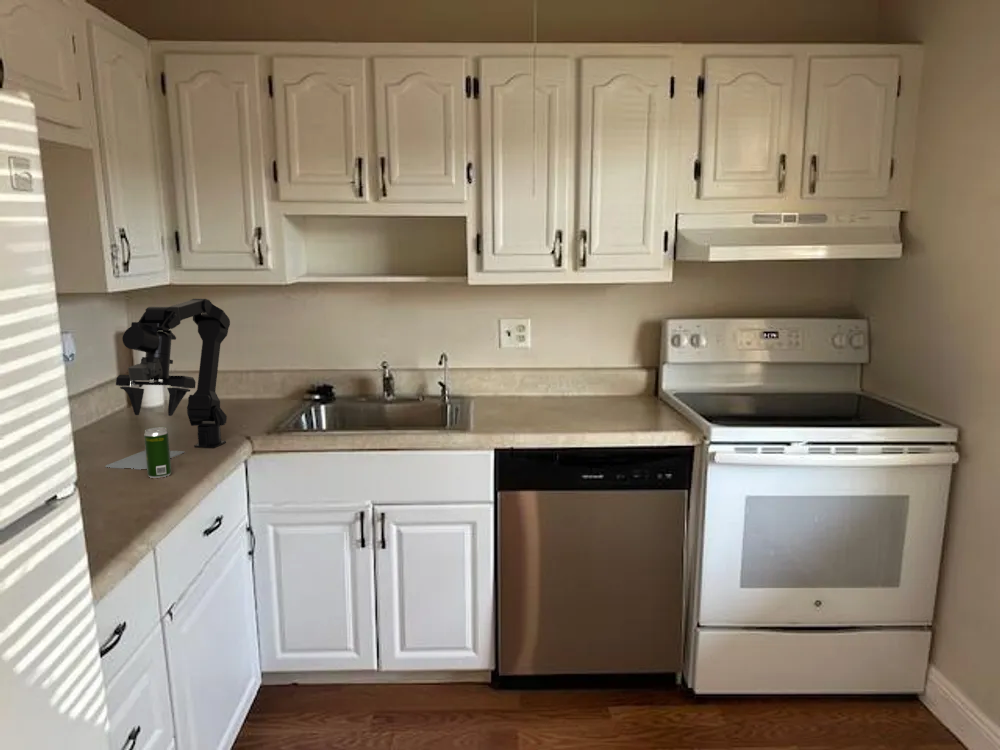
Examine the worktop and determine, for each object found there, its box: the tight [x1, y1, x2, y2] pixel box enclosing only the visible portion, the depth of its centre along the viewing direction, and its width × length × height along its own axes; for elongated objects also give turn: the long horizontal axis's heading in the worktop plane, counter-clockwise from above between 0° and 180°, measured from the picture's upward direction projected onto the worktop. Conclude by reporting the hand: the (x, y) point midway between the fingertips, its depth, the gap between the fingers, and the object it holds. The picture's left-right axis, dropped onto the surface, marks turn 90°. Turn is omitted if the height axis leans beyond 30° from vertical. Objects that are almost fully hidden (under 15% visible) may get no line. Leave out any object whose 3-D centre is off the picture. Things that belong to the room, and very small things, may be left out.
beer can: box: [143, 426, 172, 479], centre depth 174 cm, size 5×5×12 cm
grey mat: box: [105, 449, 186, 470], centre depth 189 cm, size 16×12×1 cm
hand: (153, 415), depth 177 cm, fingers open, 9 cm apart
